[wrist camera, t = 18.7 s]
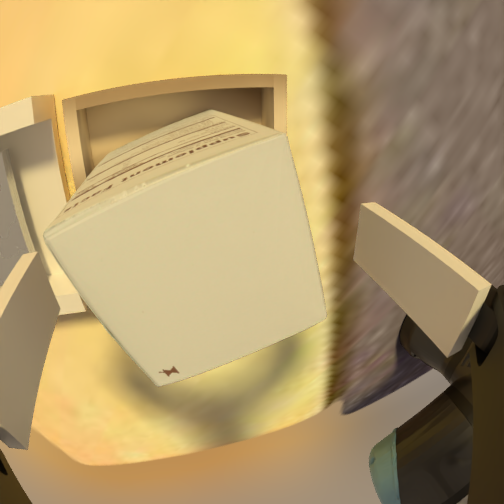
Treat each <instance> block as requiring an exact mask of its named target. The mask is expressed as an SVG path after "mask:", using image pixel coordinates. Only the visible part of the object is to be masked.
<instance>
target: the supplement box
mask: <svg viewBox="0 0 504 504" xmlns="http://www.w3.org/2000/svg"><path fill="white" fill-rule="evenodd" d="M43 238H44V241H45V244H46V246H47V248H48V249H49V251H50V252H51V254H52V255H53V257H54V259H55V260H56V262H57V263H58V265H59V266H60V268H61V269H62V270H63V272H64V273H65V275H66V276H67V277H68V279H69V280H70V282H71V283H72V285H73V286H74V288H75V289H76V290H77V292H78V293H79V295H80V296H81V297H82V299H83V300H84V301H85V303H86V304H87V305H88V307H89V308H90V309H91V311H92V312H93V313H94V314H95V316H96V317H97V318H98V320H99V321H100V322H101V324H102V325H103V326H104V328H105V329H106V331H107V332H108V333H109V334H110V335H111V336H112V337H113V338H114V339H115V341H116V342H117V343H118V344H119V345H120V346H121V348H122V349H123V350H124V351H125V352H126V353H127V354H128V355H129V357H130V358H131V359H132V360H133V361H134V362H135V363H136V364H137V366H138V367H139V368H140V369H141V370H142V371H143V372H144V373H145V374H146V375H147V376H148V377H149V379H150V380H151V381H152V382H153V383H154V384H155V385H156V386H158V387H160V386H164V385H167V384H171V383H174V382H178V381H181V380H184V379H187V378H190V377H193V376H196V375H198V374H201V373H204V372H206V371H209V370H211V369H214V368H217V367H219V366H222V365H224V364H227V363H229V362H232V361H234V360H237V359H239V358H241V357H244V356H246V355H249V354H251V353H254V352H256V351H259V350H261V349H263V348H266V347H268V346H270V345H272V344H275V343H277V342H279V341H281V340H284V339H286V338H288V337H290V336H293V335H295V334H297V333H299V332H302V331H304V330H306V329H308V328H310V327H312V326H314V325H316V324H317V323H319V322H321V321H323V320H325V319H326V317H327V312H326V306H325V300H324V294H323V288H322V283H321V278H320V273H319V268H318V263H317V258H316V253H315V248H314V244H313V239H312V234H311V230H310V225H309V221H308V216H307V212H306V208H305V204H304V199H303V195H302V191H301V187H300V184H299V180H298V176H297V172H296V168H295V164H294V160H293V157H292V153H291V150H290V146H289V141H288V137H287V135H286V133H283V132H280V131H277V130H274V129H271V128H268V127H266V126H263V125H260V124H257V123H254V122H251V121H248V120H245V119H242V118H238V117H235V116H232V115H229V114H225V113H222V112H219V111H216V110H212V109H209V110H206V111H204V112H201V113H198V114H196V115H193V116H191V117H188V118H186V119H183V120H180V121H178V122H175V123H173V124H170V125H168V126H166V127H163V128H161V129H159V130H156V131H154V132H152V133H149V134H147V135H145V136H143V137H140V138H138V139H136V140H134V141H132V142H130V143H128V144H126V145H124V146H121V147H119V148H117V149H115V150H114V151H112V152H110V153H108V154H107V155H106V156H105V157H104V159H103V160H102V161H101V162H100V163H99V164H98V165H97V166H96V167H95V168H94V170H93V171H92V172H91V173H90V174H89V176H88V177H87V178H86V179H85V181H84V182H83V183H82V184H81V186H80V187H79V188H78V189H77V191H76V192H75V193H74V194H73V196H72V197H71V199H70V200H69V201H68V202H67V204H66V205H65V206H64V208H63V209H62V210H61V212H60V213H59V214H58V215H57V217H56V218H55V219H54V220H53V221H52V222H51V224H50V225H49V226H48V227H47V228H46V229H45V231H44V233H43Z"/></svg>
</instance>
